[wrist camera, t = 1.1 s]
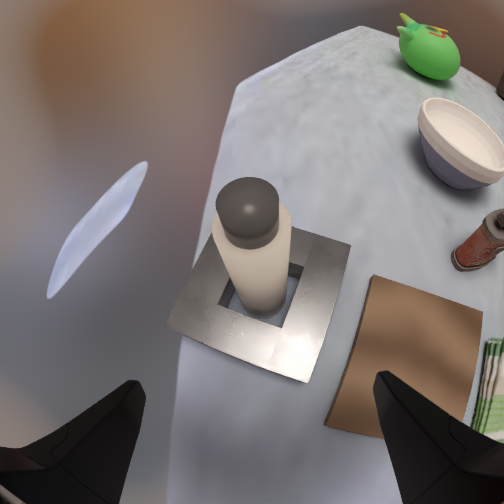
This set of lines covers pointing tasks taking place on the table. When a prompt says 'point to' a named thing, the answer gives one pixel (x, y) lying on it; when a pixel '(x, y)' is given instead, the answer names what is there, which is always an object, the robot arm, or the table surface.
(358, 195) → the table surface
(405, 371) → the board
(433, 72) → the toy bird
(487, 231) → the lighter
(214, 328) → the housing
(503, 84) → the candle
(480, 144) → the bowl
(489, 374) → the dish towel
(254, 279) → the white bottle
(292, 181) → the table surface
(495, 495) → the robot arm
